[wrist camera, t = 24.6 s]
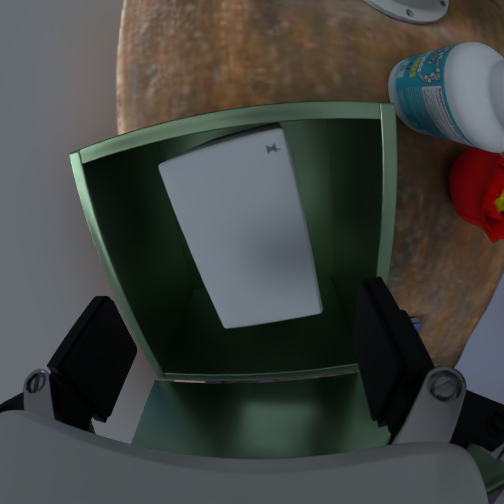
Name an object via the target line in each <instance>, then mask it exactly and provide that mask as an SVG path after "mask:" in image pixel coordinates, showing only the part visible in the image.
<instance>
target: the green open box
mask: <svg viewBox="0 0 504 504" xmlns="http://www.w3.org/2000/svg"><path fill="white" fill-rule="evenodd" d="M272 123H280V126H281V127H282V128H284V129H285V132H286V135H287V139H288V143H289V147H290V151H291V155H292V159H293V163H294V168H295V172H296V176H297V181H298V185H299V190H300V195H301V199H302V204H303V209H304V213H305V218H306V223H307V228H308V233H309V238H310V243H311V248H312V253H313V258H314V264H315V269H316V275H317V280H318V286H319V291H320V297H321V302H322V307H323V311H322V312H321V313H320V314H315V315H310V316H305V317H299V318H294V319H288V320H283V321H277V322H271V323H264V324H258V325H251V326H244V327H236V328H224V326H223V324H222V322H221V320H220V318H219V315H218V313H217V311H216V309H215V306H214V304H213V302H212V300H211V298H210V296H209V293H208V291H207V289H206V287H205V284H204V282H203V280H202V277H201V275H200V273H199V270H198V268H197V266H196V263H195V261H194V259H193V256H192V254H191V251H190V249H189V246H188V244H187V241H186V239H185V236H184V234H183V231H182V229H181V226H180V224H179V221H178V219H177V216H176V214H175V211H174V209H173V206H172V203H171V200H170V198H169V195H168V193H167V190H166V187H165V185H164V182H163V179H162V176H161V174H160V171H159V168H158V166H159V164H161V163H163V162H165V161H167V160H169V159H171V158H173V157H175V156H177V155H179V154H181V153H183V152H185V151H187V150H189V149H192V148H194V147H196V146H198V145H200V144H203V143H205V142H207V141H210V140H213V139H216V138H219V137H222V136H226V135H229V134H233V133H236V132H240V131H243V130H247V129H251V128H255V127H259V126H263V125H267V124H272ZM69 156H70V161H71V165H72V170H73V174H74V178H75V182H76V186H77V190H78V194H79V197H80V201H81V204H82V208H83V211H84V214H85V217H86V221H87V224H88V227H89V230H90V233H91V236H92V239H93V242H94V244H95V247H96V250H97V253H98V255H99V258H100V261H101V263H102V266H103V268H104V271H105V273H106V276H107V278H108V280H109V283H110V285H111V287H112V290H113V292H114V294H115V297H116V299H117V301H118V303H119V305H120V308H121V310H122V312H123V314H124V316H125V318H126V320H127V322H128V324H129V326H130V328H131V330H132V332H133V334H134V336H135V338H136V340H137V342H138V343H139V345H140V347H141V349H142V351H143V353H144V355H145V356H146V358H147V360H148V361H149V363H150V365H151V367H152V369H153V370H154V372H155V373H156V375H157V377H158V378H163V379H174V380H195V381H253V380H273V379H288V378H299V377H309V376H318V375H326V374H334V373H341V372H347V371H354V370H358V369H359V367H358V363H357V360H356V356H355V353H354V349H353V345H352V334H353V327H354V320H355V313H356V306H357V298H358V289H359V284H360V283H363V282H364V279H365V278H370V277H378V276H380V277H381V278H382V279H383V281H384V282H385V284H386V286H387V284H388V278H389V272H390V265H391V257H392V249H393V240H394V230H395V218H396V202H397V172H398V155H397V125H396V110H395V104H394V103H384V102H367V101H308V102H290V103H277V104H267V105H257V106H249V107H241V108H234V109H228V110H221V111H216V112H210V113H204V114H199V115H194V116H189V117H185V118H180V119H176V120H172V121H168V122H163V123H160V124H156V125H152V126H148V127H145V128H141V129H138V130H134V131H131V132H128V133H124V134H121V135H118V136H115V137H112V138H109V139H106V140H104V141H100V142H98V143H95V144H92V145H89V146H87V147H84V148H82V149H79V150H77V151H74V152H72V153H70V155H69Z"/></svg>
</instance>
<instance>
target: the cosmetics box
mask: <svg viewBox="0 0 504 504" xmlns="http://www.w3.org/2000/svg"><path fill="white" fill-rule="evenodd" d="M158 168H159V171H160V174H161V176H162V179H163V182H164V185H165V187H166V190H167V193H168V195H169V198H170V200H171V203H172V206H173V209H174V211H175V214H176V216H177V219H178V221H179V224H180V226H181V229H182V231H183V234H184V236H185V239H186V241H187V244H188V246H189V249H190V251H191V254H192V256H193V259H194V261H195V263H196V266H197V268H198V270H199V273H200V275H201V277H202V280H203V282H204V284H205V287H206V289H207V291H208V293H209V296H210V298H211V300H212V302H213V304H214V306H215V309H216V311H217V313H218V315H219V318H220V320H221V322H222V324H223V326H224V328H236V327H244V326H251V325H258V324H264V323H271V322H277V321H283V320H288V319H294V318H299V317H305V316H310V315H315V314H320V313H321V312H322V311H323V307H322V302H321V297H320V291H319V286H318V280H317V275H316V269H315V264H314V258H313V253H312V248H311V243H310V238H309V233H308V228H307V223H306V218H305V213H304V209H303V204H302V199H301V195H300V190H299V185H298V181H297V176H296V172H295V168H294V163H293V159H292V155H291V151H290V147H289V143H288V139H287V135H286V132H285V129H284V128H282V127H281V126H280V123H272V124H267V125H263V126H259V127H255V128H251V129H247V130H243V131H240V132H236V133H233V134H229V135H226V136H222V137H219V138H216V139H213V140H210V141H207V142H205V143H203V144H200V145H198V146H196V147H194V148H192V149H189V150H187V151H185V152H183V153H181V154H179V155H177V156H175V157H173V158H171V159H169V160H167V161H165V162H163V163H161V164H159V166H158Z"/></svg>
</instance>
